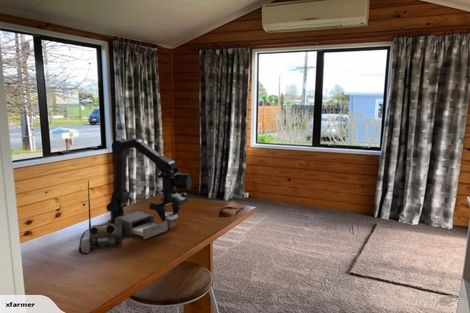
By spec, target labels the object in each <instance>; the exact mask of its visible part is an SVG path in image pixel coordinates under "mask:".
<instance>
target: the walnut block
mask: <svg viewBox="0 0 470 313" xmlns="http://www.w3.org/2000/svg"><path fill="white" fill-rule="evenodd" d="M165 221H167V227H168V229H172V228H174V227H177V219H175V220H165Z"/></svg>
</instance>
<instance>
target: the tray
mask: <svg viewBox="0 0 470 313" xmlns="http://www.w3.org/2000/svg"><path fill="white" fill-rule="evenodd" d="M132 229H133V233H135V234H136V235H139V236H141V237H143V238H142V239H144V240H146V239H149V238H151V237H155V236H156V235H159V234H162V233H164V232H167V231H168V229H169V228H168V227H167V221H164V222H162V221H160V222H158V223H154V224H153V223H150V222H149V223H146V224H143V225H140V226H138V227H135V228H132Z"/></svg>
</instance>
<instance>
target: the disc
mask: <svg viewBox="0 0 470 313" xmlns="http://www.w3.org/2000/svg"><path fill="white" fill-rule="evenodd" d="M175 219H176V220H177V219H178V215H177V213H174V212H173V211H170V212H169V211H168V212H165V220H175Z"/></svg>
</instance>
